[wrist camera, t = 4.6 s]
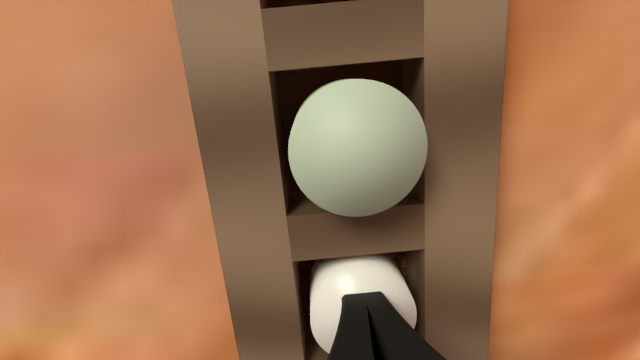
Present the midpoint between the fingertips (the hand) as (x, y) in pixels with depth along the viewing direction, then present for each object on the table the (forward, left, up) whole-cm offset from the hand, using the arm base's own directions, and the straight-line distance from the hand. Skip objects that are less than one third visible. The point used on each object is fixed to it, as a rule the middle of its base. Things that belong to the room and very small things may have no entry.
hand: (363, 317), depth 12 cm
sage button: (+6, +2, -1) cm, 6 cm away
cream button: (0, 0, -2) cm, 2 cm away
